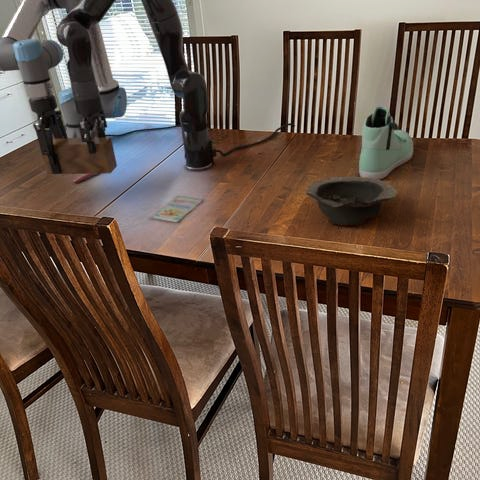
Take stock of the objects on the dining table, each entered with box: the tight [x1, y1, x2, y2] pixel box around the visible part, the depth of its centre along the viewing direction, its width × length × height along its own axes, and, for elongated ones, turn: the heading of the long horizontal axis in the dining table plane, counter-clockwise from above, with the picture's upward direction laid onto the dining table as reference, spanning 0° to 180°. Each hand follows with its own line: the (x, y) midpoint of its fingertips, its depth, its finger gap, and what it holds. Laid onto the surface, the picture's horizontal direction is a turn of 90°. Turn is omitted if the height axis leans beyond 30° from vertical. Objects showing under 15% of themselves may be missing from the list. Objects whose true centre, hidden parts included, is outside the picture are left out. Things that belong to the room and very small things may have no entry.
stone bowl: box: [304, 175, 398, 227], centre depth 135 cm, size 25×25×9 cm
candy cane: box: [73, 173, 98, 184], centre depth 174 cm, size 6×15×2 cm, turn 145°
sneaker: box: [358, 105, 414, 180], centre depth 160 cm, size 14×35×20 cm, turn 152°
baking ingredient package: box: [151, 196, 203, 223], centre depth 146 cm, size 9×1×15 cm
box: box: [38, 136, 118, 175], centre depth 150 cm, size 21×6×10 cm, turn 83°
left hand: (61, 169), depth 154 cm, fingers closed on box, 6 cm apart
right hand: (98, 148), depth 148 cm, fingers open, 8 cm apart
